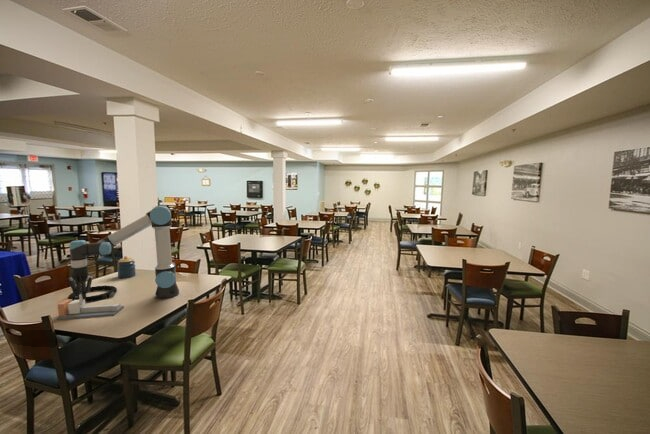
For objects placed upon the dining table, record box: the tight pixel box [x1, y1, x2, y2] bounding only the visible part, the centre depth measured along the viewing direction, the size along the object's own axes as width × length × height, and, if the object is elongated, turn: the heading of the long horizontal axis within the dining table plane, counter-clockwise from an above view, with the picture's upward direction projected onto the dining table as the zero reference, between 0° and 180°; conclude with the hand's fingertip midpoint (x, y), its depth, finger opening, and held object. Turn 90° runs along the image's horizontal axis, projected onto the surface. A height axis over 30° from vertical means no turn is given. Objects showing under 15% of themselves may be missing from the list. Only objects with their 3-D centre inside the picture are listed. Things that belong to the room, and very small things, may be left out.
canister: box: [116, 256, 137, 279], centre depth 253 cm, size 13×13×18 cm
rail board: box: [56, 298, 125, 321], centre depth 179 cm, size 30×12×8 cm, turn 101°
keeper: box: [68, 300, 86, 314], centre depth 177 cm, size 5×6×6 cm
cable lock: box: [67, 285, 118, 303], centre depth 208 cm, size 28×4×30 cm
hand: (82, 304), depth 177 cm, fingers closed
